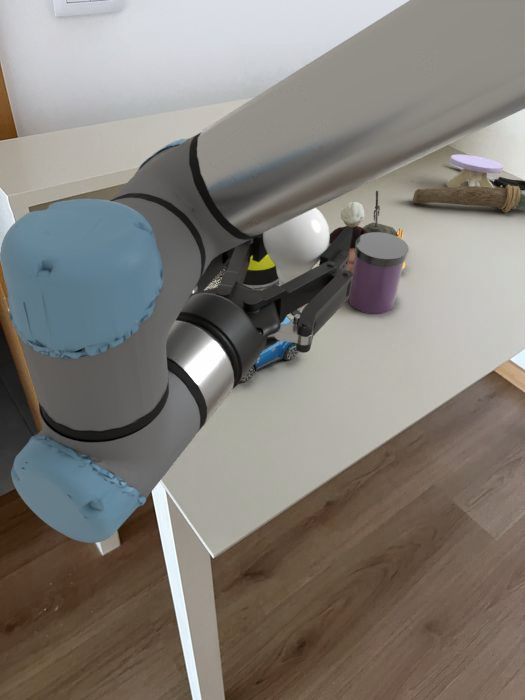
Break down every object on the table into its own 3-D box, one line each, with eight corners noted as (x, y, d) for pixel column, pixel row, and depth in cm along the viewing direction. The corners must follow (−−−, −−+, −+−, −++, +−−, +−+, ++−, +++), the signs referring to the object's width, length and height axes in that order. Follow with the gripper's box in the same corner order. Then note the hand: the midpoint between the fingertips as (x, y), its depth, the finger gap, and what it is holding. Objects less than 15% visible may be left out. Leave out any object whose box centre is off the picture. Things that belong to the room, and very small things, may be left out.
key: (409, 233, 95) (410, 232, 94) (402, 275, 92) (404, 274, 91) (389, 224, 94) (390, 223, 93) (382, 267, 91) (383, 266, 90)
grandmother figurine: (360, 270, 92) (373, 194, 84) (370, 283, 89) (385, 207, 81) (314, 275, 90) (323, 199, 82) (323, 289, 87) (333, 212, 79)
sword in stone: (366, 231, 101) (378, 164, 93) (408, 246, 98) (424, 178, 90) (337, 254, 95) (347, 184, 87) (380, 271, 91) (395, 200, 84)
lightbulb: (266, 281, 63) (271, 186, 56) (324, 290, 63) (336, 194, 56) (254, 316, 59) (258, 217, 52) (317, 325, 58) (329, 226, 51)
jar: (403, 297, 87) (416, 243, 81) (382, 321, 82) (395, 265, 76) (360, 280, 90) (369, 227, 84) (337, 302, 85) (346, 247, 79)
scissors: (456, 157, 126) (547, 188, 116) (455, 161, 127) (545, 192, 117) (441, 165, 122) (533, 197, 112) (440, 169, 123) (531, 201, 113)
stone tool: (420, 195, 105) (588, 206, 104) (420, 173, 106) (585, 184, 106) (412, 211, 110) (571, 222, 110) (412, 190, 111) (569, 201, 111)
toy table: (438, 190, 114) (445, 160, 111) (450, 177, 120) (458, 149, 117) (488, 203, 111) (498, 173, 107) (498, 188, 117) (507, 160, 113)
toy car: (204, 364, 74) (203, 329, 70) (277, 330, 79) (280, 295, 76) (232, 391, 70) (232, 355, 66) (306, 352, 76) (310, 318, 72)
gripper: (101, 354, 50) (233, 238, 66) (306, 438, 44) (398, 287, 60) (87, 280, 45) (234, 174, 61) (316, 364, 39) (414, 221, 55)
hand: (315, 230), depth 60 cm, fingers closed on lightbulb, 6 cm apart
